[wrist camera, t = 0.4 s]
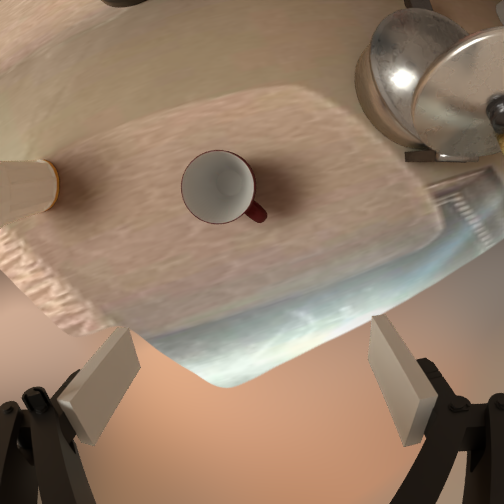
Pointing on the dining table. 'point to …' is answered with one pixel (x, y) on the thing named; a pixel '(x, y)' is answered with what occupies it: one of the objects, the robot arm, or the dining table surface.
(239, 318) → the dining table surface
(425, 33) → the pot
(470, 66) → the lid
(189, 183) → the mug
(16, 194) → the cup
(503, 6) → the cup
